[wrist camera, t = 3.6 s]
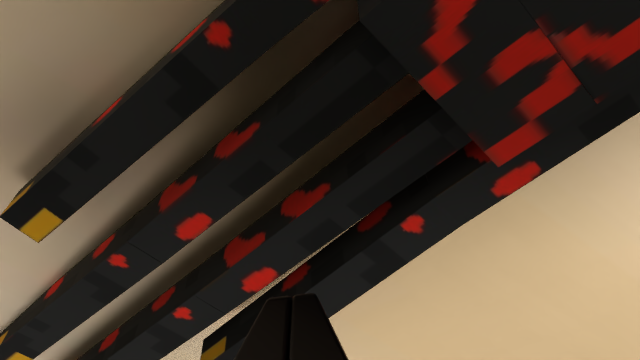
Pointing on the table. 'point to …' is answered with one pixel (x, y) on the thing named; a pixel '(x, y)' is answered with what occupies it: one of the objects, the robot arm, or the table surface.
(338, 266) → the toy
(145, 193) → the table surface
